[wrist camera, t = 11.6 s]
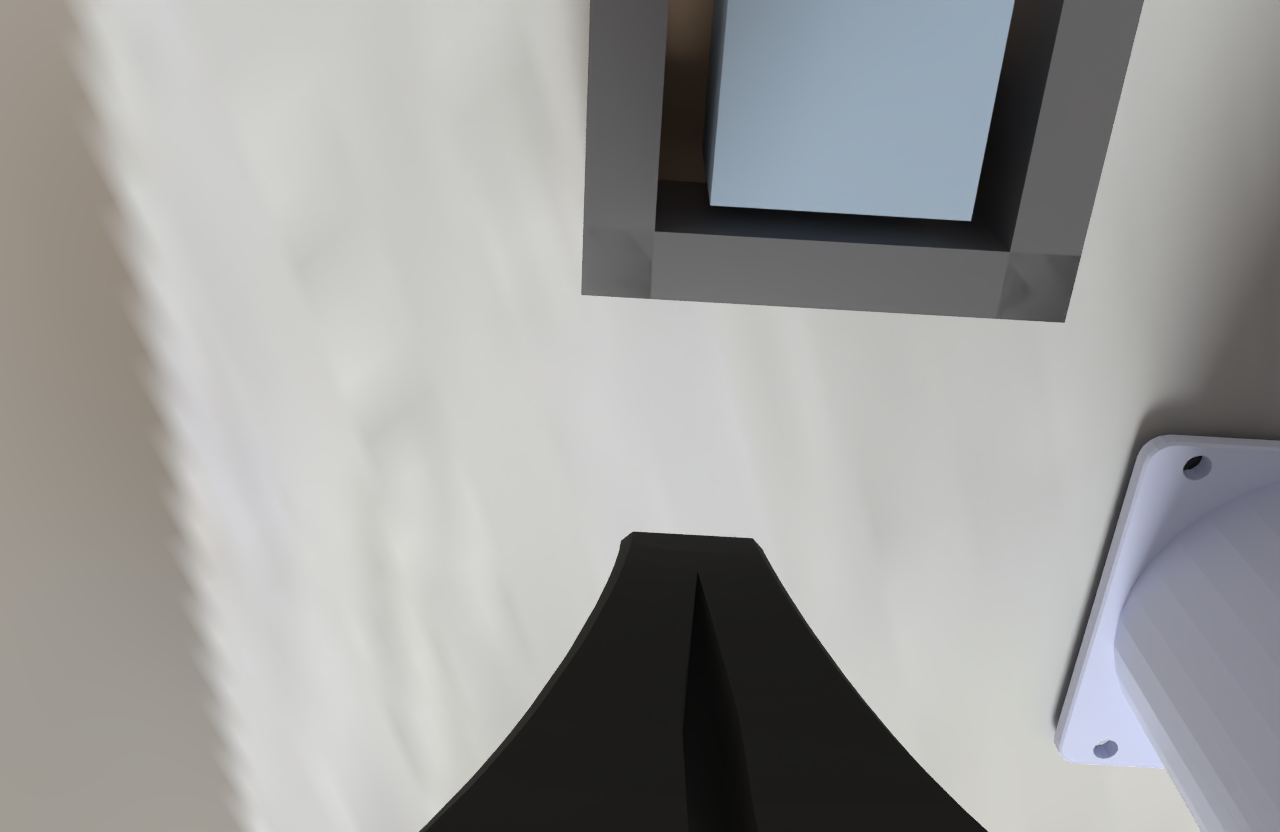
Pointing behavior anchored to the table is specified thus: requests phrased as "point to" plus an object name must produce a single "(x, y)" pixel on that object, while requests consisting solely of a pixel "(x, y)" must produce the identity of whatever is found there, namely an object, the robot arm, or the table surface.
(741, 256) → the bench frame
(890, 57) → the blue-grey long block
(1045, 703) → the table surface
